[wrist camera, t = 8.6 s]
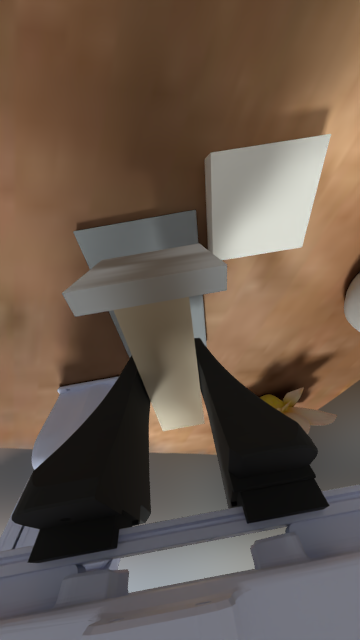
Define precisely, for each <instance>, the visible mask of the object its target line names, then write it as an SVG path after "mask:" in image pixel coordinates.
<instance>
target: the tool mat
mask: <svg viewBox="0 0 360 640" xmlns="http://www.w3.org/2000/svg"><path fill="white" fill-rule="evenodd" d="M74 235H75V237H76V239H77V241H78V244H79V246H80V248H81V250H82V253H83V255H84V257H85V259H86V262H87V264H88V266H89V268H90V269H92V268H93V267H94V266H95V265H96V264H98V263H99V262H100V261H101V260H105V259H111V258H117V257H123V256H129V255H135V254H140V253H146V252H152V251H158V250H164V249H170V248H176V247H181V246H187V245H193V244H198V232H197V220H196V210H191V211H185V212H180V213H174V214H168V215H163V216H157V217H151V218H146V219H140V220H135V221H129V222H123V223H118V224H112V225H106V226H101V227H95V228H90V229H84V230H78V231H74ZM189 300H190V308H191V317H192V325H193V333H194V338H200V339H201V340H202V342H203V343H204V345H205V346H207V345H206V333H205V320H204V308H203V295H197V296H191V297H189ZM109 313H110V315H111V317H112V320H113V322H114V324H115V326H116V329H117V331H118V333H119V335H120V338H121V340H122V342H123V344H124V347H125V349H126V351H127V353H128V355H129V358H130V357H131V355H132V354H131V352H130V349H129V347H128V345H127V342H126V340H125V337H124V335H123V332H122V330H121V328H120V325H119V323H118V320H117V318H116V315H115V313H114V310H111V311H109Z"/></svg>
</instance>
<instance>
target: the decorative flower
mask: <svg viewBox="0 0 360 640" xmlns="http://www.w3.org/2000/svg"><path fill="white" fill-rule="evenodd" d="M303 390H304V387H303V388H300V389H297V390H294V391H291V392H288V393H287V394H286V395H285V397H284V398H283V400H280V399H279V398H277V397H275V396H273V395H271V394H269V395H264V396H262V397H260V398H261V399H262V400H263V401H265V402H266V403H268V404H269V405H271V406H272V407H274V408H275V409H277V410H278V411H280V412H282V413H283V414H285V415H286V416H288V417H290V418H291V419H293V420H295V421H296V422H298V423H299V425H300V426H301V427H302V428H303V430H304V431H305V432H306V433H307V434H308V433H309V430H310V425H327V424H330V423H333V422H334V420H335V419H336V417H337V415H335V414H331V413H327V412H323V411H319V410H313V409H307V408H298V407H293V406H294V405H295V404H296V403H297V401H298V400H299V398H300V396H301V394H302V392H303Z"/></svg>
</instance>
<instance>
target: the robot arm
mask: <svg viewBox="0 0 360 640" xmlns="http://www.w3.org/2000/svg"><path fill="white" fill-rule="evenodd" d="M194 341H195V349H196V358H197V366H198V374H199V382H200V389H201V392H202V396H203V399H204V402H205V405H206V409H207V412H208V416H209V421H210V425H211V430H212V434H213V439H214V443H215V448H216V452H217V457H218V461H219V466H220V470H221V475H222V480H223V485H224V490H225V494H226V499H227V504H228V508H229V509H225V510H220V511H214V512H209V513H204V514H198V515H193V516H187V517H182V518H177V519H171V520H166V521H161V522H155V523H150V524H145V525H140V526H135V527H132V526H134V525H139V524H142V523H145V522H146V521H147V519H148V518H149V516H150V514H151V505H150V482H149V412H150V398H149V396H148V393H147V391H146V388H145V386H144V384H143V381H142V379H141V376H140V374H139V371H138V369H137V367H136V364H135V362H134V359H133V357H132V355H131V357H130V359H129V361H128V363H127V364H126V366H125V368H124V369H123V371H122V373H121V374H120V376H118V377H112V378H107V379H101V380H96V381H90V382H85V383H79V384H74V385H68V386H63V387H59V388H58V390H57V391H58V392H59V393H60V395H59V397H58V399H57V401H56V403H55V405H54V407H53V409H52V410H51V412H50V414H49V416H48V418H47V420H46V422H45V423H44V425H43V427H42V429H41V431H40V433H39V435H38V437H37V439H36V441H35V444H34V448H33V453H32V465H33V468H34V471H33V473H32V475H31V477H30V478H29V480H28V482H27V484H26V486H25V488H24V490H23V492H22V494H21V496H20V498H19V500H18V502H17V504H16V506H15V508H14V510H13V512H12V515H11V517H10V519H9V521H8V523H7V525H6V527H5V529H4V531H3V533H2V535H1V537H0V640H360V484H359V485H353V486H347V487H342V488H337V489H331V490H326V491H321V490H320V488H319V486H318V485H317V483H316V481H315V479H314V478H315V477H316V476H315V474H314V472H313V470H312V469H311V467H310V464H311V462H312V461H313V460H314V459H315V457H316V456H317V453H318V450H317V448H316V446H315V445H314V443H313V442H312V440H311V438H310V437H309V436H308V435H307V433H306V432H305V431H304V430H303V428H302V427H301V426H300V425H299V423H298V422H296V421H295V420H293V419H291V418H290V417H288V416H286V415H285V414H283V413H282V412H280V411H278V410H277V409H275V408H274V407H272V406H271V405H269V404H268V403H266V402H265V401H263V400H262V399H261V398H259V397H258V396H257V395H255V394H254V393H253V392H251V391H250V390H249V389H247V388H246V387H245V386H244V385H242V384H241V383H240V382H239V381H238V380H237V379H235V378H234V377H233V376H232V375H231V374H230V373H229V372H228V371H227V370H226V369H225V368H224V367H223V366H222V365H221V364H220V363H219V362H218V361H217V360H216V358H215V357H214V356H213V355H212V354H211V353H210V351H209V350H208V349H207V347H206V346H205V345H204V343H203V342H202V340H201V339H200V338H194ZM287 526H288V527H287ZM282 527H287V528H286V531H285V532H286V533H285V534H281V535H277V536H273V537H269V538H265V539H261V540H257V541H255V543H254V545H252V546H251V548H250V549H251V553H252V556H253V560H254V565H255V569H252V570H247V571H241V572H236V573H231V574H225V575H220V576H215V577H210V578H204V579H200V580H194V581H189V582H184V583H178V584H173V585H168V586H163V587H158V588H153V589H147V590H143V591H137V592H132V593H128V577H129V571H128V570H118V566H119V562H120V558H124V557H129V556H134V555H139V554H144V553H150V552H155V551H161V550H166V549H171V548H176V547H182V546H187V545H192V544H197V543H202V542H208V541H213V540H218V539H224V538H229V537H235V536H240V535H245V534H250V533H256V532H261V531H266V530H272V529H277V528H282Z"/></svg>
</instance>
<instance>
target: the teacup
mask: <svg viewBox="0 0 360 640" xmlns="http://www.w3.org/2000/svg"><path fill="white" fill-rule="evenodd" d="M344 313H345V316H346V318H347V320H348V322H349V323H350V324H351V325H352V326H353V327H354V328H355V329H356V330H358V331H359V332H360V273H359V274H358V275H357V276H356V277H355V278H354V279H353V281H352V282H351V284H350V286H349V288H348V290H347V293H346V297H345V301H344Z"/></svg>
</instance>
